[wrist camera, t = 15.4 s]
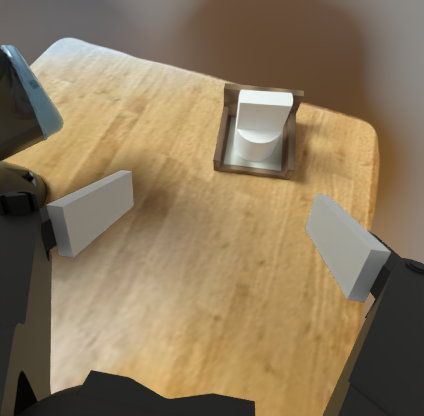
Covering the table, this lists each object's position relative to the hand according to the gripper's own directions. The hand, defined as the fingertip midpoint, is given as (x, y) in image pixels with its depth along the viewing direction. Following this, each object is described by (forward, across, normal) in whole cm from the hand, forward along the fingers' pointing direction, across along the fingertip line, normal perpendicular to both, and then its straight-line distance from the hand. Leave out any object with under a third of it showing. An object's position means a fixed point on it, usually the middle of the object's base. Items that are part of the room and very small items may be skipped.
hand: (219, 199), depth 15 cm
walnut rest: (+37, +5, 0) cm, 37 cm away
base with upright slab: (+35, +5, 0) cm, 35 cm away
